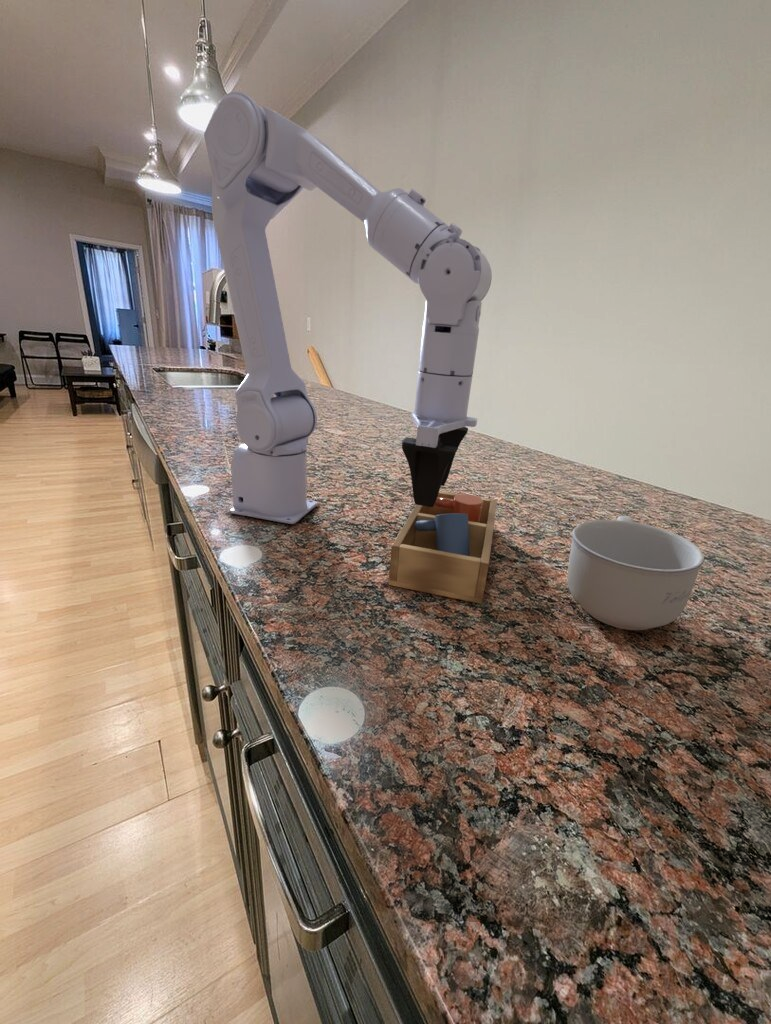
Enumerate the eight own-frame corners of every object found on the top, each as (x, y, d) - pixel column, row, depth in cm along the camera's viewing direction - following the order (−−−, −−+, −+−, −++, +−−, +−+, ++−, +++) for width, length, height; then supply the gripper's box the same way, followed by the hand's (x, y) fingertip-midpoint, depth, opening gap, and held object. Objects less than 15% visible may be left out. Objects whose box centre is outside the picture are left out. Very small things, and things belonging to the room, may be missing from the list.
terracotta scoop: (428, 535, 56) (432, 498, 54) (433, 524, 59) (437, 489, 57) (476, 544, 55) (482, 506, 53) (478, 532, 58) (484, 496, 56)
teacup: (675, 663, 38) (707, 582, 35) (545, 616, 43) (563, 542, 40) (676, 592, 49) (701, 525, 46) (573, 561, 54) (589, 499, 51)
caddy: (388, 584, 46) (391, 545, 44) (422, 519, 63) (425, 488, 61) (481, 604, 44) (489, 563, 42) (491, 531, 61) (497, 499, 59)
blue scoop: (412, 561, 48) (410, 515, 49) (419, 561, 52) (418, 518, 52) (467, 560, 47) (465, 512, 47) (471, 560, 50) (469, 516, 51)
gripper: (477, 383, 40) (456, 522, 45) (488, 372, 53) (471, 481, 58) (400, 375, 41) (389, 510, 46) (429, 366, 54) (418, 472, 59)
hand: (430, 493), depth 52 cm, fingers open, 7 cm apart
